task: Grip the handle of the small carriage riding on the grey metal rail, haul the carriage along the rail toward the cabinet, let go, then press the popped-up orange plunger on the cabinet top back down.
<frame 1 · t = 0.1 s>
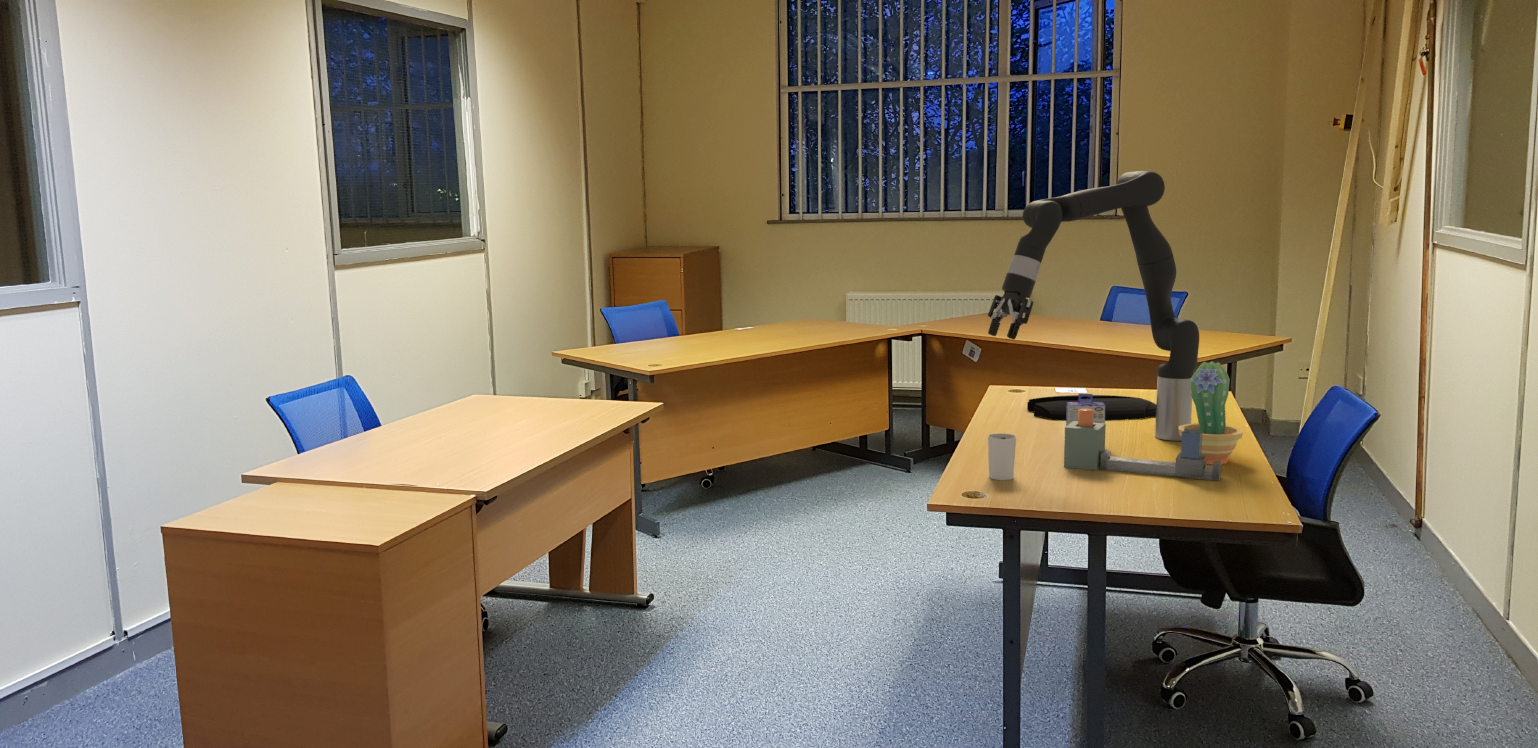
hand: (1001, 336, 269), 31 cm above the table, tool tilted 20°, fingers open, 8 cm apart
carriage: (1191, 452, 251), point 6 cm above the table, slide at 0.0 cm
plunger: (1085, 422, 263), point 11 cm above the table, slide at 0.0 cm
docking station: (1095, 414, 332), on the table
cabinet: (1084, 464, 265), on the table
cream cup: (1001, 477, 254), on the table
ink cartridge box: (1084, 448, 283), on the table
rail: (1159, 472, 255), on the table
potted cactus: (1208, 460, 267), on the table
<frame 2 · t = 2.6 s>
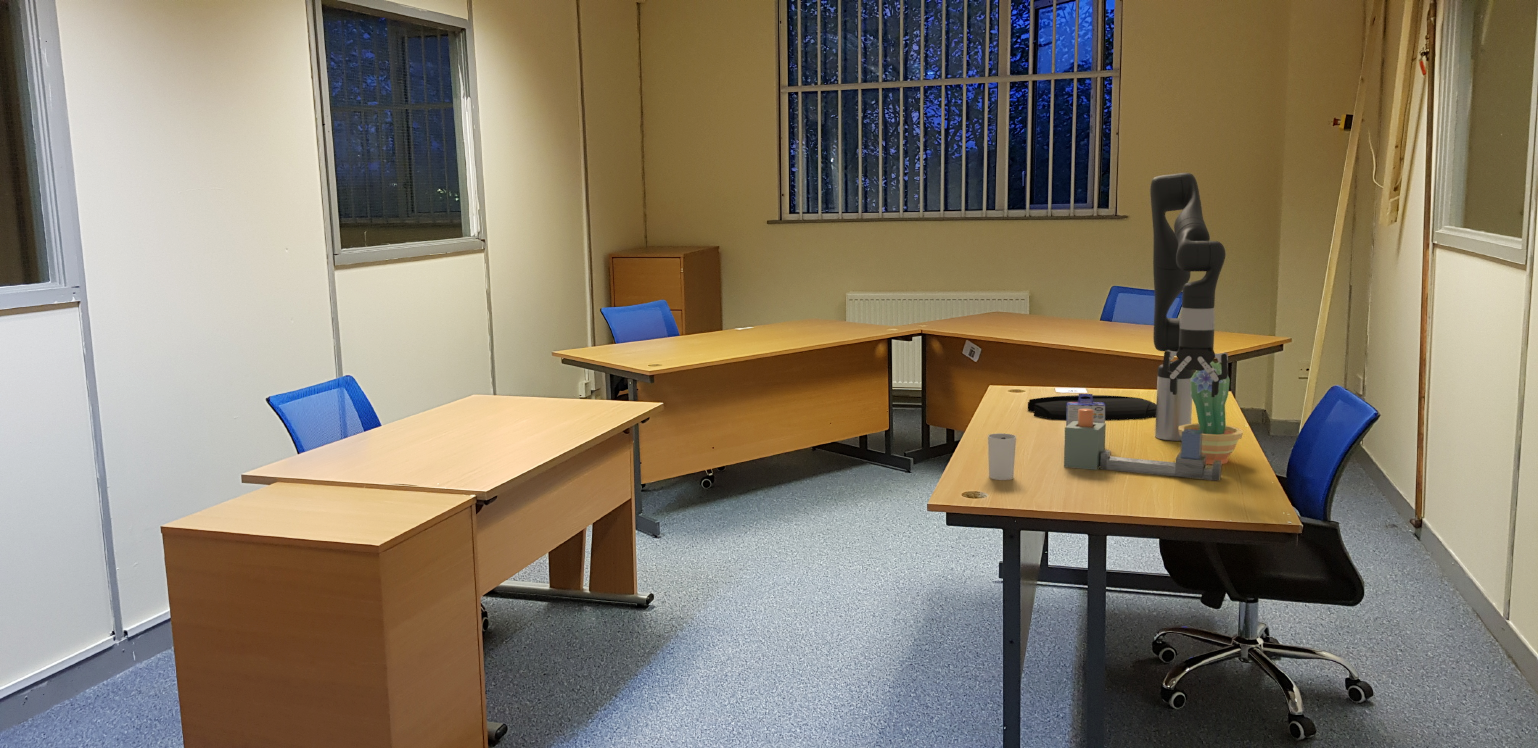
hand: (1193, 395, 249), 19 cm above the table, tool pointing down, fingers open, 8 cm apart
nothing on the table moved.
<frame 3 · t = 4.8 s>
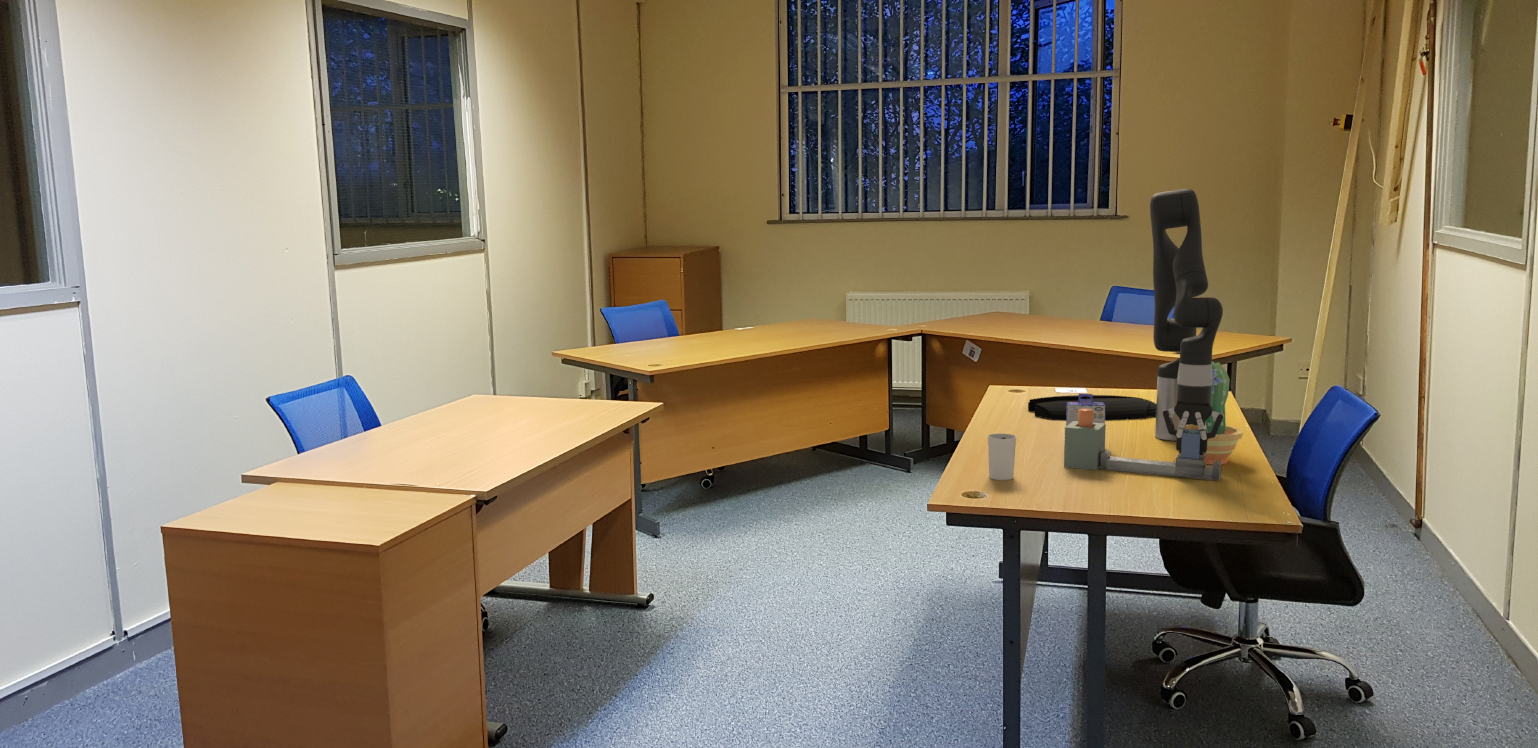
hand: (1191, 453, 251), 6 cm above the table, tool pointing down, fingers closed on carriage, 4 cm apart
carriage: (1191, 452, 251), point 6 cm above the table, slide at 0.0 cm, touching gripper
everything else where it was.
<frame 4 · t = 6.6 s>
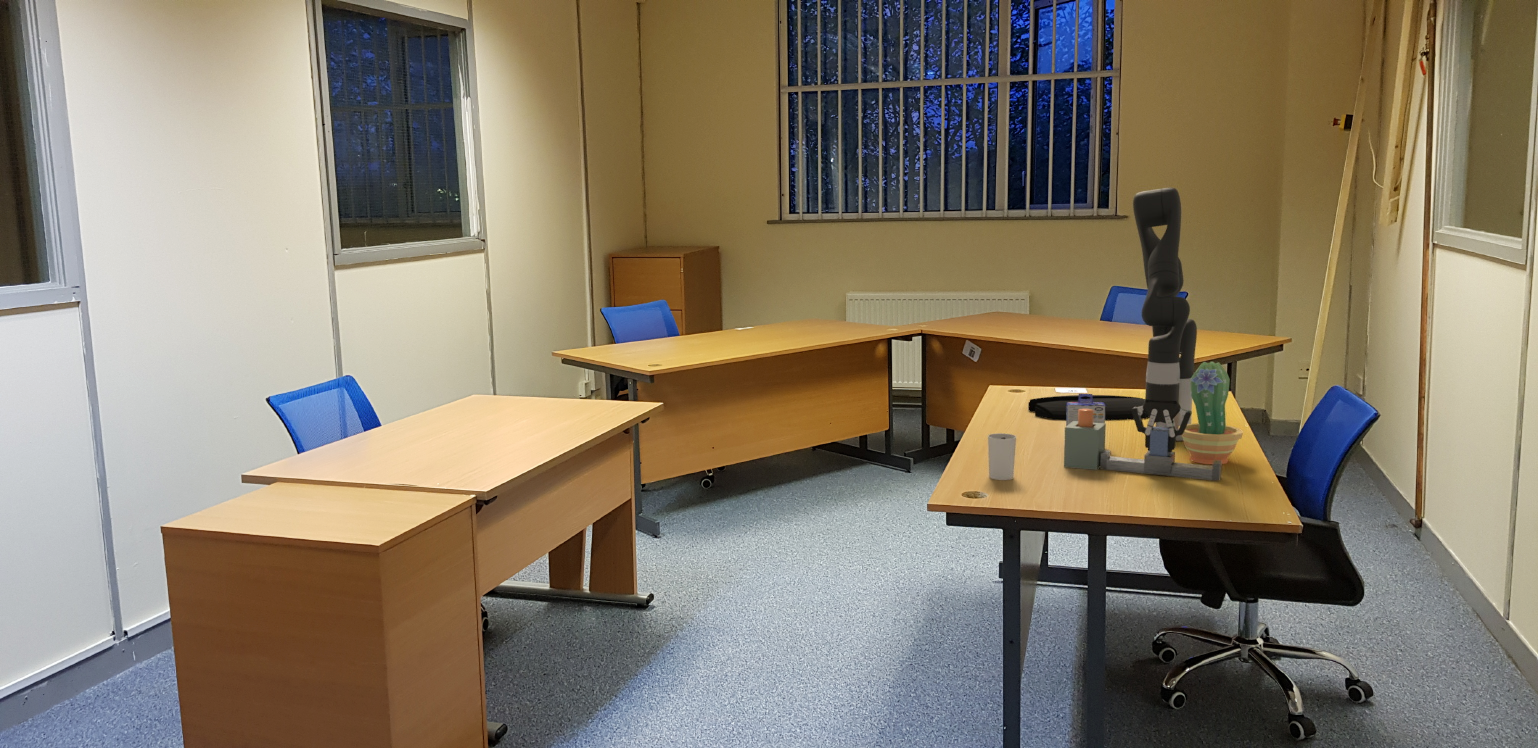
hand: (1159, 450, 254), 6 cm above the table, tool pointing down, fingers closed on carriage, 4 cm apart
carriage: (1160, 449, 254), point 6 cm above the table, slide at 7.1 cm, touching gripper
everything else where it was.
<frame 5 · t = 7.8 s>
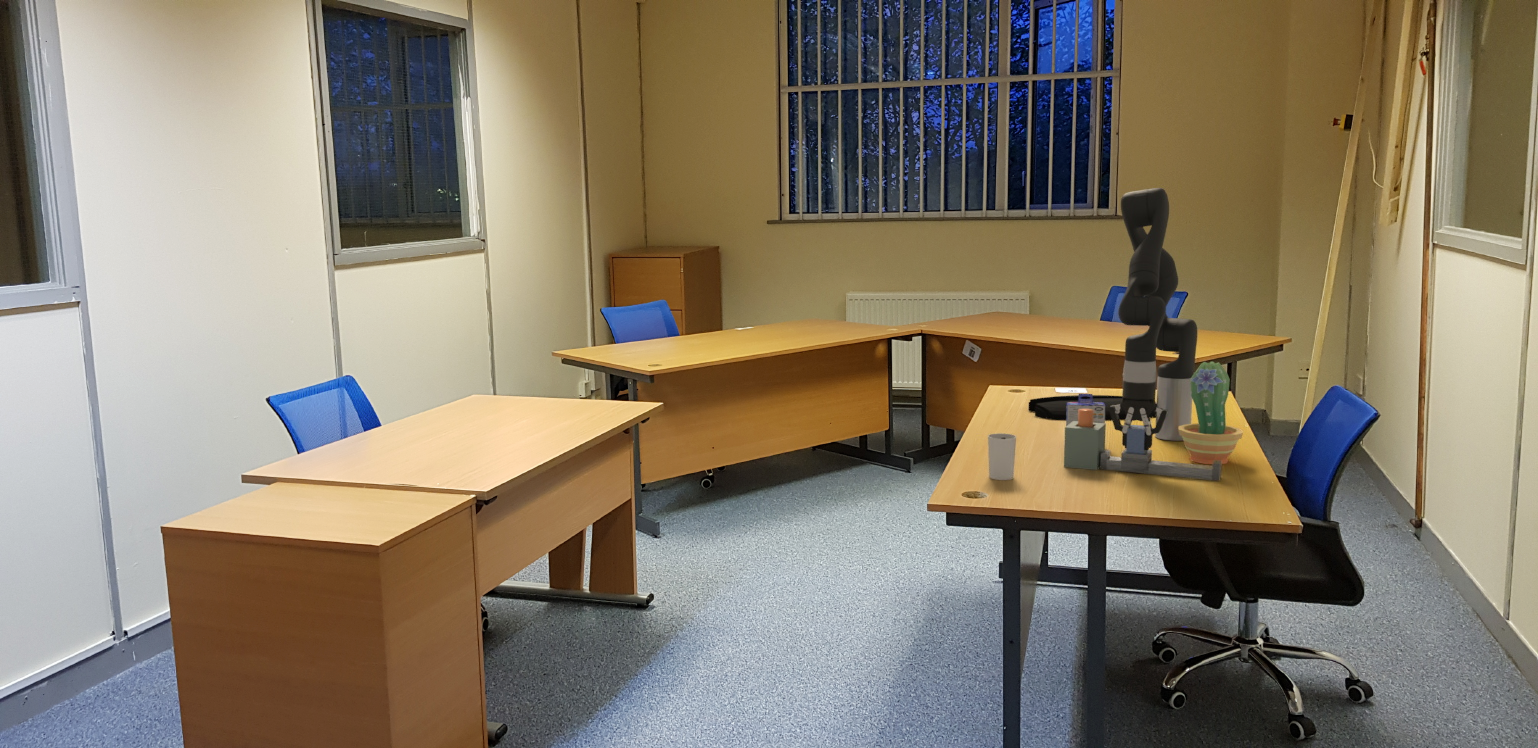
hand: (1136, 448, 257), 6 cm above the table, tool pointing down, fingers closed on carriage, 4 cm apart
carriage: (1136, 447, 257), point 6 cm above the table, slide at 12.4 cm, touching gripper
everything else where it was.
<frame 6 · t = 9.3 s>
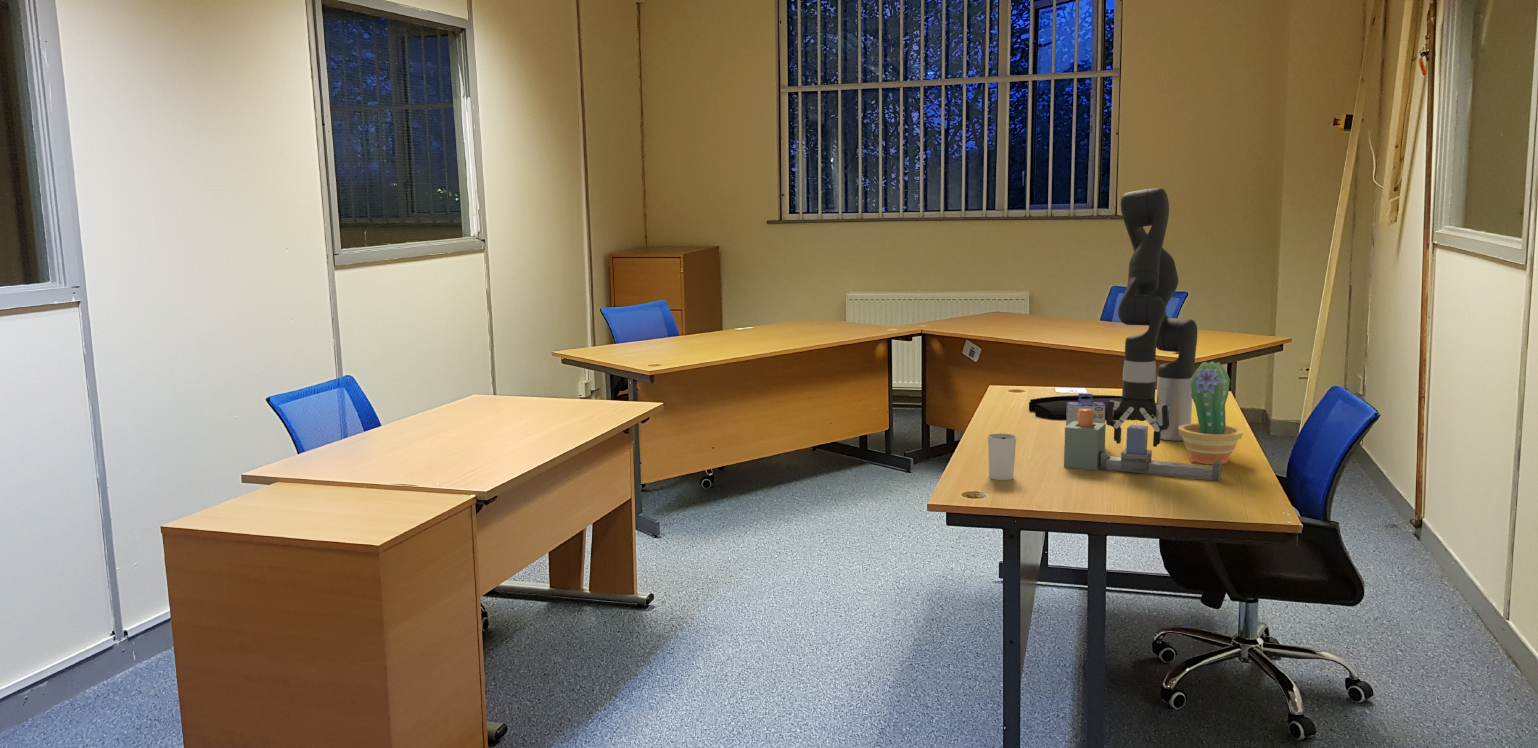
hand: (1136, 444, 257), 6 cm above the table, tool pointing down, fingers open, 8 cm apart
carriage: (1136, 447, 257), point 6 cm above the table, slide at 12.4 cm
everything else where it was.
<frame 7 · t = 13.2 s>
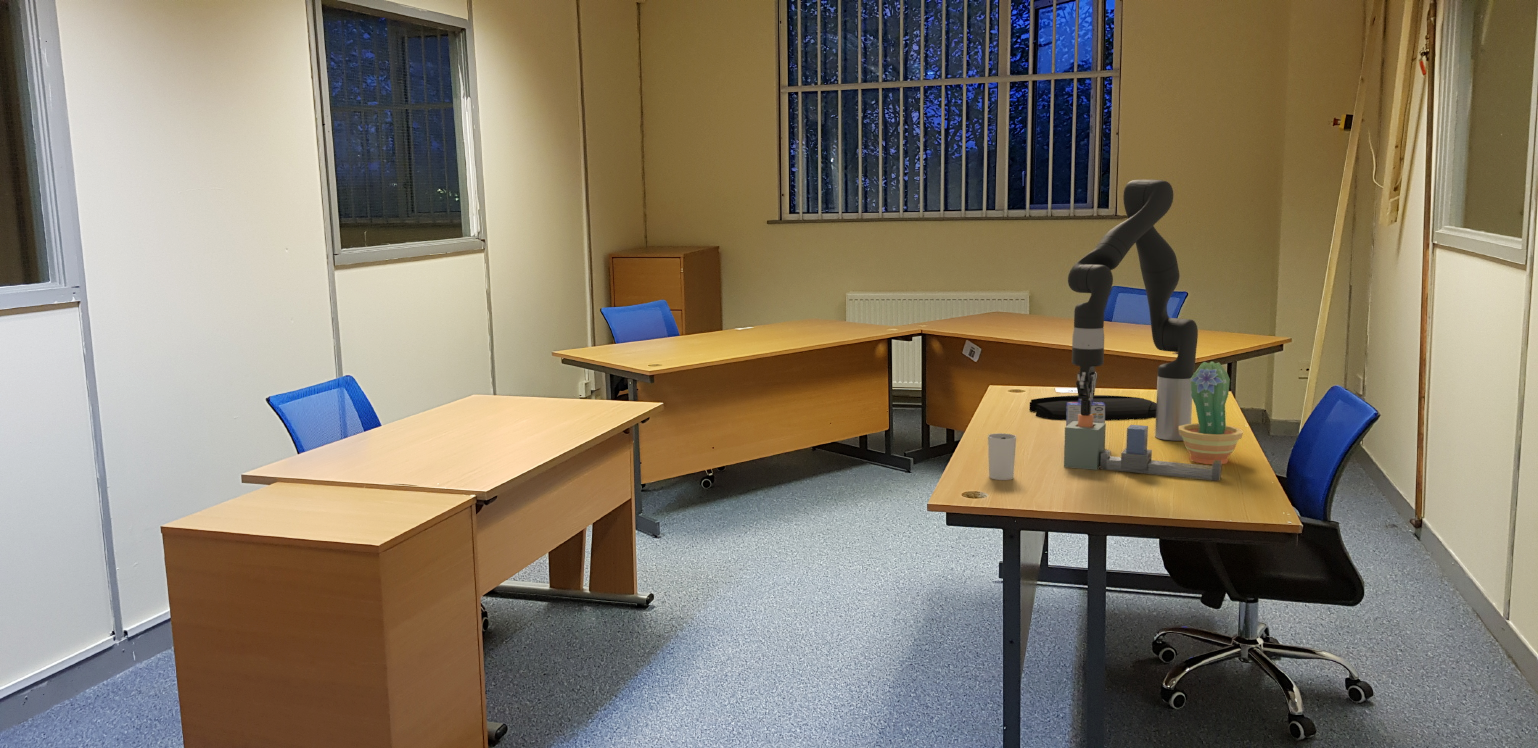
hand: (1085, 414, 263), 13 cm above the table, tool pointing down, fingers closed
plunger: (1085, 427, 263), point 9 cm above the table, slide at 1.3 cm, touching gripper
everything else where it was.
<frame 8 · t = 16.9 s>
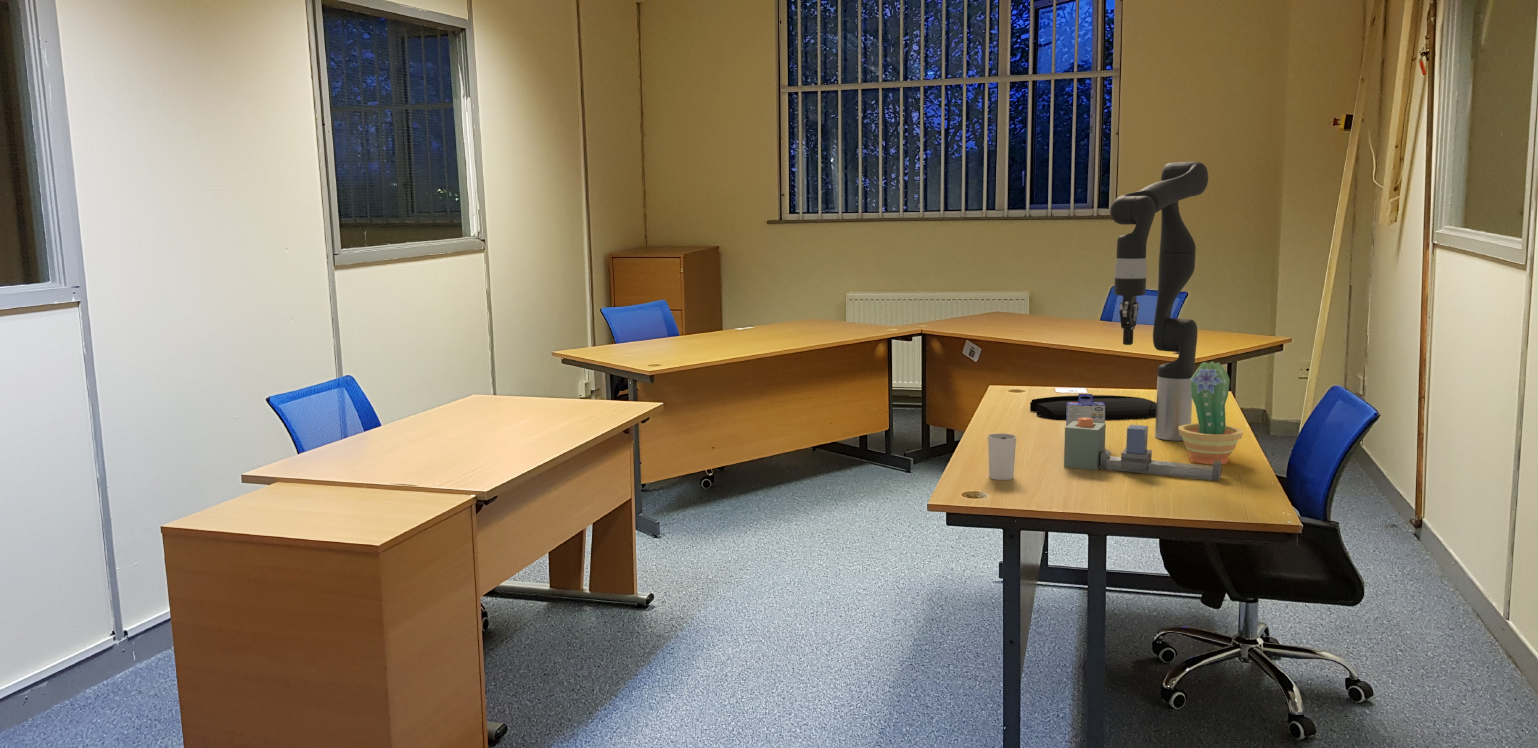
hand: (1127, 344, 269), 29 cm above the table, tool pointing down, fingers closed
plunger: (1085, 431, 263), point 8 cm above the table, slide at 2.3 cm
everything else where it was.
at the end: carriage slide at 12.4 cm; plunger slide at 2.3 cm; the gripper is holding nothing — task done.
